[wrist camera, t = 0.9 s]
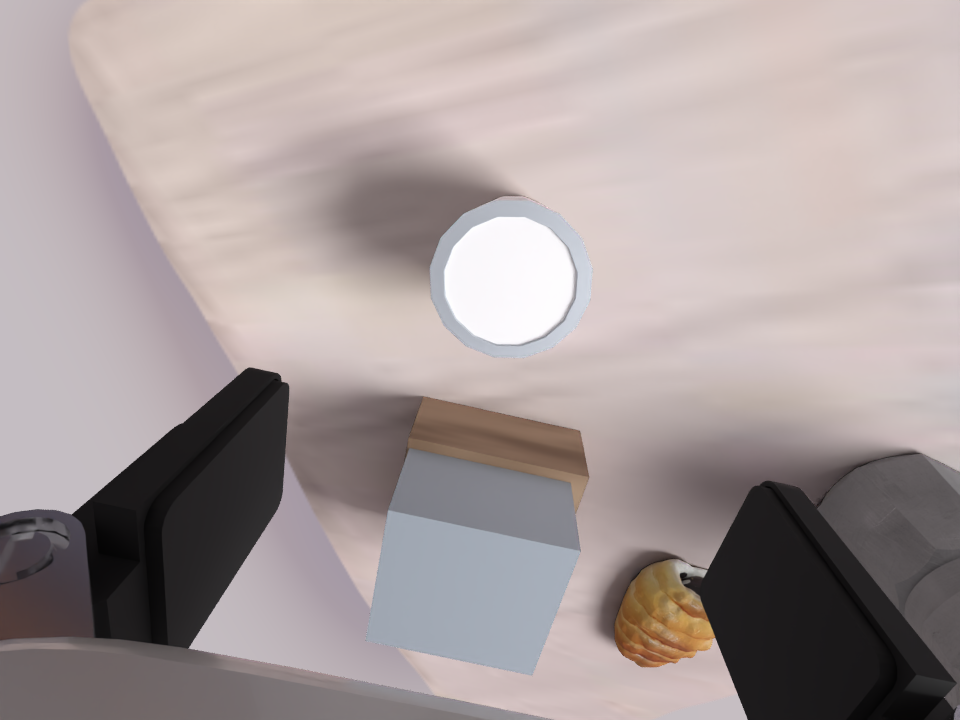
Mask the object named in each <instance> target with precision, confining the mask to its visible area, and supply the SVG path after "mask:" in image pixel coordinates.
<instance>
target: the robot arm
mask: <svg viewBox="0 0 960 720" xmlns="http://www.w3.org/2000/svg"><path fill="white" fill-rule="evenodd" d="M288 403H289V385H288V383H285V382H281V376H280V375H279V374H278V373H273V372H269V371H264V370H260V369H255V368H247V369H245V370H244V371H243V372H242V373H241V374H240V375H238V376H237V377H236V378H235V379H234V380H233V381H232V382H230V383H229V384H228V385H227V386H226V387H224V388H223V389H222V390H221V391H220V392H219V393H217V394H216V395H215V396H214V397H213V398H212V399H211V400H209V401H208V402H207V403H206V404H205V405H204V406H202V407H201V408H200V409H199V410H198V411H197V412H196V413H194V414H193V415H192V416H191V417H190V418H188V419H187V420H186V421H185V422H184V423H182V424H179V425H178V426H176V427H174V428H173V429H172V430H171V431H169V432H168V433H167V434H166V435H165V436H164V437H162V438H161V439H160V440H159V441H158V442H157V443H155V444H154V445H153V446H152V447H151V448H150V449H148V450H147V451H146V452H145V453H144V454H143V455H142V456H140V457H139V458H138V459H137V460H136V461H134V462H133V463H132V464H131V465H129V467H127V468H126V469H125V470H124V471H122V472H121V473H120V474H119V475H118V476H117V477H115V478H114V479H113V480H112V481H111V482H109V483H108V484H107V485H106V486H105V487H104V488H102V489H101V490H100V491H99V492H98V493H97V494H95V495H94V496H93V497H92V498H91V499H90V500H88V501H87V502H86V503H85V504H84V505H82V506H81V507H80V508H79V509H78V510H77V511H75V512H74V513H73V514H72V515H71V514H67V513H64V512H60V511H56V510H40V509H36V510H29V511H20V512H14V513H10V514H7V515H3V516H0V720H553V719H548V718H543V717H538V716H533V715H528V714H523V713H518V712H513V711H508V710H504V709H499V708H494V707H489V706H484V705H479V704H474V703H469V702H464V701H459V700H454V699H449V698H444V697H439V696H434V695H429V694H424V693H419V692H413V691H408V690H404V689H398V688H394V687H389V686H383V685H378V684H373V683H368V682H363V681H358V680H353V679H348V678H343V677H338V676H333V675H328V674H323V673H318V672H313V671H308V670H303V669H297V668H292V667H287V666H281V665H276V664H271V663H265V662H259V661H254V660H248V659H242V658H237V657H231V656H226V655H221V654H215V653H209V652H204V651H198V650H192V649H188V648H189V646H190V645H191V643H192V642H193V640H194V639H195V637H196V636H197V634H198V633H199V631H200V629H201V628H202V626H203V625H204V623H205V622H206V620H207V619H208V617H209V615H210V614H211V612H212V611H213V609H214V608H215V606H216V604H217V603H218V601H219V600H220V598H221V597H222V595H223V593H224V592H225V590H226V589H227V587H228V586H229V584H230V583H231V581H232V580H233V578H234V576H235V575H236V573H237V571H238V570H239V568H240V567H241V565H242V564H243V562H244V561H245V559H246V558H247V556H248V555H249V553H250V551H251V550H252V548H253V547H254V545H255V544H256V542H257V540H258V539H259V537H260V536H261V534H262V532H263V531H264V530H265V528H266V526H267V525H268V523H269V522H270V520H271V519H272V517H273V515H274V514H275V512H276V510H277V509H278V507H279V504H280V501H281V498H282V492H283V477H284V463H285V448H286V433H287V418H288ZM700 599H701V602H702V605H703V608H704V610H705V613H706V615H707V618H708V620H709V623H710V625H711V628H712V630H713V633H714V635H715V638H716V640H717V643H718V645H719V648H720V650H721V653H722V655H723V658H724V661H725V663H726V666H727V668H728V671H729V673H730V676H731V678H732V681H733V683H734V686H735V688H736V691H737V693H738V696H739V698H740V701H741V703H742V706H743V708H744V711H745V714H746V716H747V719H748V720H960V705H958V706H957V707H956V708H955V709H953V708H952V707H951V706H950V704H949V703H948V702H947V700H946V699H945V698H944V697H945V696H946V695H947V694H948V693H949V692H950V691H951V690H952V688H953V687H954V686H955V685H956V684H957V683H956V681H955V680H954V679H953V678H952V676H951V675H950V674H949V673H948V671H947V670H946V669H945V668H944V666H943V665H942V664H941V663H940V661H939V660H938V659H937V658H936V656H935V655H934V654H933V653H932V651H931V650H930V649H929V648H928V647H927V645H926V644H925V643H924V642H923V640H922V639H921V638H920V637H919V635H918V634H917V633H916V632H915V630H914V629H913V628H912V627H911V625H910V624H909V623H908V622H907V620H906V619H905V618H904V617H903V615H902V614H901V613H900V612H899V610H898V609H897V608H896V607H895V606H894V604H893V603H892V602H891V601H890V599H889V598H888V597H887V596H886V594H885V593H884V592H883V591H882V589H881V588H880V587H879V586H878V584H877V583H876V582H875V581H874V579H873V578H872V577H871V576H870V574H869V573H868V572H867V571H866V569H865V568H864V567H863V566H862V565H861V563H860V562H859V561H858V560H857V558H856V557H855V556H854V555H853V553H852V552H851V551H850V550H849V548H848V547H847V546H846V545H845V543H844V542H843V541H842V540H841V538H840V537H839V536H838V535H837V533H836V532H835V531H834V530H833V528H832V527H831V526H830V525H829V524H828V522H827V521H826V520H825V519H824V517H823V516H822V515H821V514H820V512H819V511H818V510H817V509H816V507H815V506H814V505H813V504H812V502H811V501H810V500H809V499H808V497H807V496H806V495H805V494H804V492H803V491H802V490H801V489H799V488H798V487H795V486H790V485H786V484H781V483H777V482H772V481H765V482H763V483H762V484H760V486H754V487H753V488H752V489H751V490H750V492H749V494H748V495H747V497H746V499H745V501H744V503H743V505H742V507H741V509H740V510H739V512H738V514H737V516H736V518H735V520H734V522H733V524H732V525H731V527H730V529H729V531H728V533H727V535H726V537H725V539H724V541H723V542H722V544H721V546H720V548H719V550H718V552H717V554H716V556H715V557H714V559H713V561H712V563H711V565H710V567H709V569H708V571H707V573H706V574H705V576H704V578H703V580H702V582H701V586H700Z"/></svg>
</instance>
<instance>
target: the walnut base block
mask: <svg viewBox="0 0 960 720" xmlns="http://www.w3.org/2000/svg"><path fill="white" fill-rule="evenodd" d="M409 448H412V449H417V450H421V451H426V452H431V453H435V454H440V455H444V456H449V457H454V458H458V459H463V460H468V461H472V462H477V463H481V464H486V465H491V466H495V467H500V468H505V469H509V470H514V471H518V472H523V473H528V474H532V475H537V476H542V477H546V478H551V479H555V480H560V481H565V482H569V483H571V488H572V495H573V502H574V508H575V514H576V511H577V509H578V506H579V503H580V501H581V498H582V495H583V493H584V490H585V487H586V485H587V482H588V479H589V473H588V468H587V463H586V458H585V453H584V448H583V443H582V438H581V433H580V431H577V430H573V429H568V428H564V427H559V426H555V425H550V424H546V423H541V422H537V421H532V420H528V419H523V418H519V417H514V416H510V415H505V414H501V413H496V412H492V411H487V410H483V409H478V408H474V407H469V406H465V405H460V404H456V403H451V402H447V401H442V400H438V399H433V398H429V397H424V396H423V399H422V402H421V405H420V408H419V410H418V413H417V416H416V419H415V421H414V424H413V427H412V430H411V432H410V435H409V438H408V444H407V449H406V455H405V459H406V457H407V454H408V451H409ZM404 462H405V460H404Z"/></svg>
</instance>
